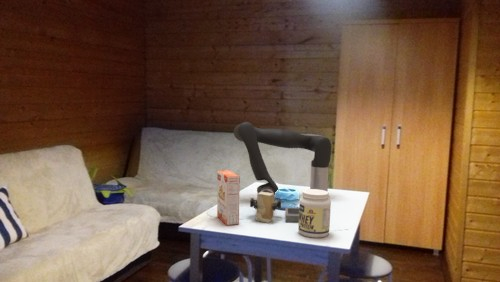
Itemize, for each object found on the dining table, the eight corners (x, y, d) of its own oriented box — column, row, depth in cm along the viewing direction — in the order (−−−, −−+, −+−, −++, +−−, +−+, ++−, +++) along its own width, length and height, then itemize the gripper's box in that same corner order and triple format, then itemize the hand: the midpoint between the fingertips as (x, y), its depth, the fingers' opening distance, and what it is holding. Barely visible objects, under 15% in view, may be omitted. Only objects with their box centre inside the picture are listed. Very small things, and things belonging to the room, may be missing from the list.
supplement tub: (292, 232, 171) (293, 191, 169) (310, 226, 179) (312, 187, 178) (316, 240, 162) (318, 196, 160) (335, 234, 171) (337, 192, 169)
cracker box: (216, 216, 191) (216, 170, 188) (229, 215, 193) (230, 169, 191) (225, 226, 178) (226, 176, 175) (239, 224, 180) (240, 175, 178)
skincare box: (255, 220, 186) (256, 193, 184) (260, 218, 190) (261, 191, 188) (269, 223, 183) (270, 195, 181) (273, 220, 187) (274, 193, 185)
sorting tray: (285, 213, 198) (285, 207, 198) (313, 215, 197) (314, 208, 197) (285, 222, 185) (285, 215, 185) (316, 223, 184) (316, 216, 184)
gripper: (251, 189, 200) (248, 198, 183) (282, 190, 199) (282, 199, 182) (250, 205, 201) (248, 215, 184) (281, 206, 200) (281, 216, 183)
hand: (265, 207), depth 183 cm, fingers closed on skincare box, 7 cm apart
